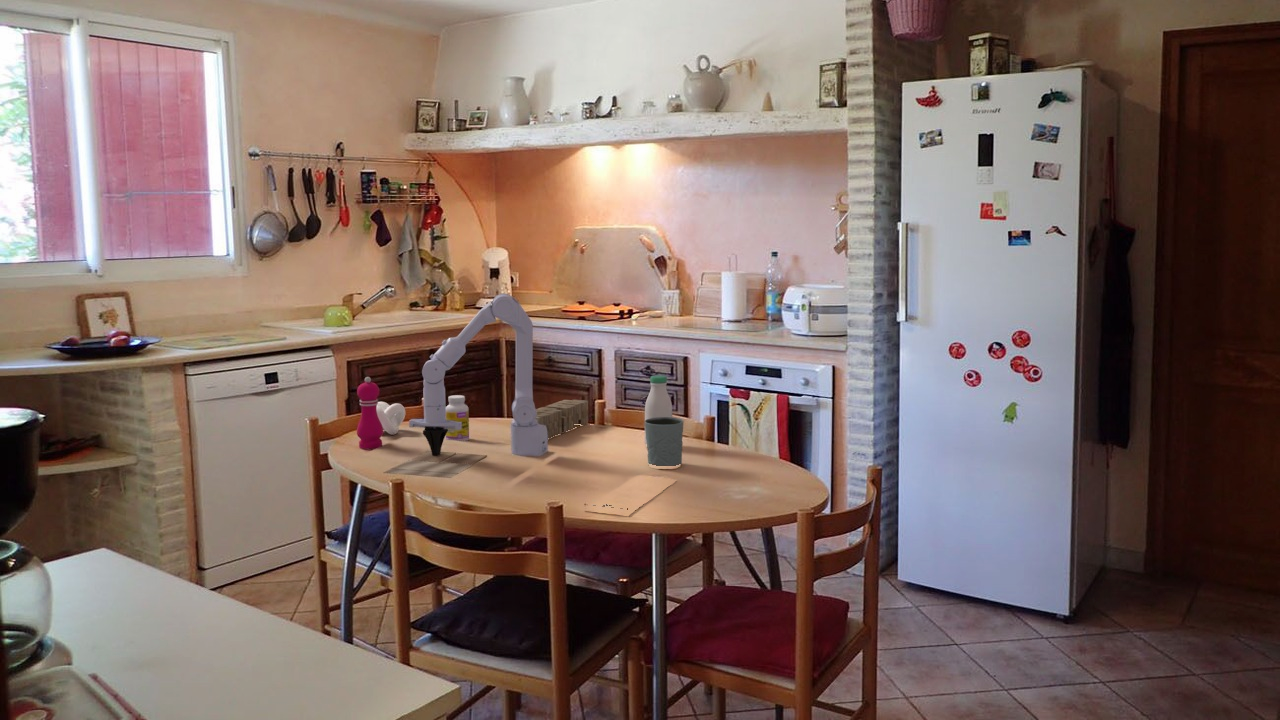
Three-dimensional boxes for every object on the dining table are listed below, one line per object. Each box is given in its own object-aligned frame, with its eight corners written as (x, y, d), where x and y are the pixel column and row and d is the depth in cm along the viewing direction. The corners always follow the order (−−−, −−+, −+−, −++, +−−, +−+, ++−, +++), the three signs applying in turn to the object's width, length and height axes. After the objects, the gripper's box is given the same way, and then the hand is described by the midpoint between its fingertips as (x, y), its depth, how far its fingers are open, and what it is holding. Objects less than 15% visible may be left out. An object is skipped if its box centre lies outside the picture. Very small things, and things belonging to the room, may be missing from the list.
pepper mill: (387, 444, 293) (384, 374, 290) (378, 450, 286) (375, 379, 283) (362, 443, 294) (359, 374, 291) (353, 449, 287) (350, 378, 284)
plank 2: (486, 458, 274) (486, 455, 274) (472, 468, 266) (471, 464, 266) (457, 456, 277) (457, 453, 277) (442, 466, 268) (442, 462, 268)
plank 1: (456, 456, 277) (456, 452, 277) (440, 465, 268) (440, 462, 268) (427, 454, 279) (427, 450, 279) (411, 463, 271) (411, 460, 271)
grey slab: (473, 468, 265) (473, 464, 265) (450, 481, 253) (450, 477, 253) (409, 463, 271) (408, 460, 270) (383, 476, 258) (383, 472, 258)
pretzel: (355, 436, 304) (354, 406, 302) (377, 427, 315) (376, 398, 314) (389, 438, 300) (388, 408, 299) (410, 429, 312) (409, 400, 310)
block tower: (566, 425, 322) (515, 441, 296) (566, 398, 321) (515, 412, 295) (588, 427, 319) (539, 444, 293) (588, 400, 318) (538, 415, 292)
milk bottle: (672, 449, 285) (672, 378, 282) (644, 449, 285) (644, 378, 282) (672, 443, 292) (672, 374, 289) (645, 443, 293) (644, 374, 290)
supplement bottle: (457, 444, 293) (455, 399, 291) (441, 440, 297) (439, 397, 295) (474, 439, 298) (473, 396, 296) (458, 436, 302) (457, 393, 300)
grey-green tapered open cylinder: (680, 471, 262) (680, 425, 260) (641, 469, 264) (640, 423, 262) (686, 461, 272) (686, 417, 270) (648, 460, 274) (648, 415, 272)
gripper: (466, 403, 275) (467, 453, 277) (417, 400, 279) (419, 449, 281) (454, 408, 268) (455, 459, 270) (404, 405, 272) (406, 455, 274)
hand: (436, 454), depth 275 cm, fingers closed, pressing on plank 1
